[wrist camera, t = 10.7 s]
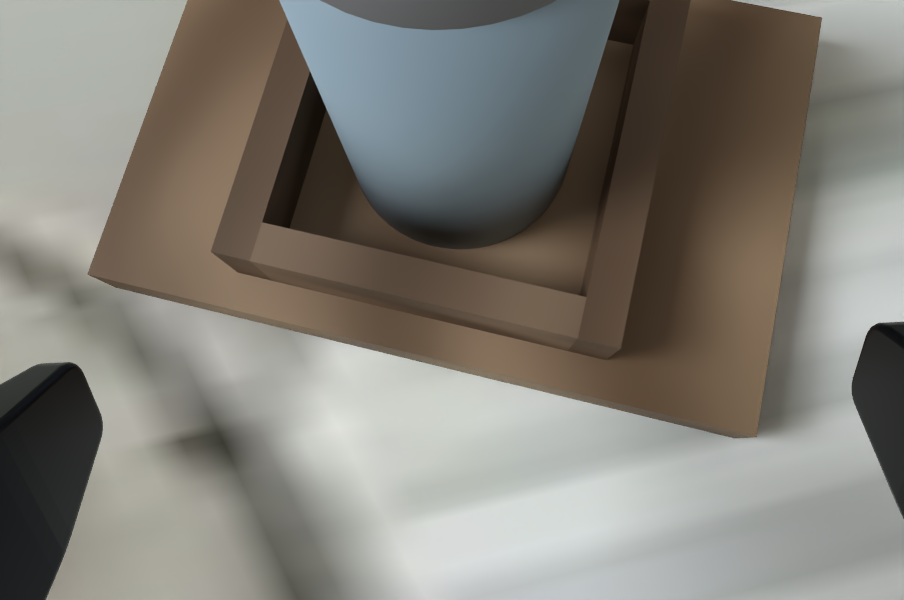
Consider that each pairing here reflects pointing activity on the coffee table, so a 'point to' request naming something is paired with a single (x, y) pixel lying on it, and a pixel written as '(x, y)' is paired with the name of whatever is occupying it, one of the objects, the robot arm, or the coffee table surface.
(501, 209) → the blue grey domed cylinder
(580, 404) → the coffee table surface
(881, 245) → the coffee table surface
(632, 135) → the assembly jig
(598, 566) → the coffee table surface
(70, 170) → the coffee table surface
